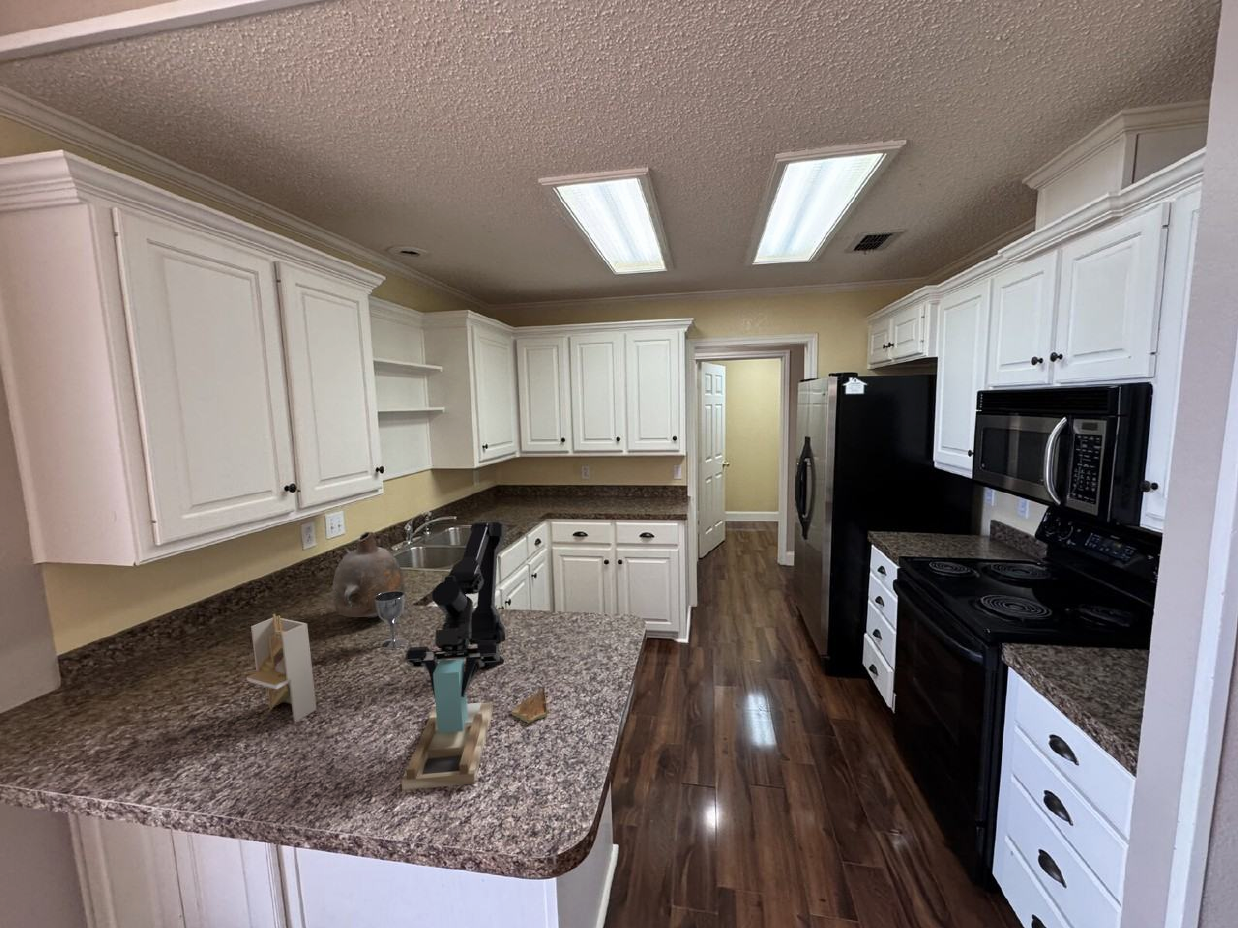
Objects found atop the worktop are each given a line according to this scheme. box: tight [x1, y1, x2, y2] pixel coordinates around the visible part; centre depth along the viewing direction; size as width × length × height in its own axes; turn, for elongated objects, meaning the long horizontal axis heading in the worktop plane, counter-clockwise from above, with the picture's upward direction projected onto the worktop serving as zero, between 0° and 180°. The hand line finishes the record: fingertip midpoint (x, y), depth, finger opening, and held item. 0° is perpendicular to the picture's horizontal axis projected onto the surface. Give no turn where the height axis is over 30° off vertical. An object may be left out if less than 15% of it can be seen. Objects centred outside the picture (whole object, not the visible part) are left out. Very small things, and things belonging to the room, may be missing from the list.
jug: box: [332, 531, 406, 619], centre depth 162 cm, size 24×21×30 cm
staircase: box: [246, 613, 317, 723], centre depth 112 cm, size 8×12×26 cm
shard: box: [511, 687, 549, 725], centre depth 113 cm, size 11×8×2 cm
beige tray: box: [401, 701, 494, 791], centre depth 101 cm, size 22×13×4 cm, turn 6°
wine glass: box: [375, 590, 407, 650], centre depth 145 cm, size 8×8×15 cm
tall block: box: [433, 658, 468, 733], centre depth 101 cm, size 5×5×13 cm
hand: (449, 697), depth 100 cm, fingers closed on tall block, 5 cm apart
